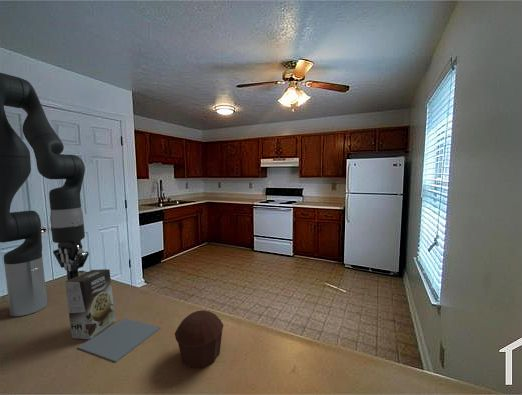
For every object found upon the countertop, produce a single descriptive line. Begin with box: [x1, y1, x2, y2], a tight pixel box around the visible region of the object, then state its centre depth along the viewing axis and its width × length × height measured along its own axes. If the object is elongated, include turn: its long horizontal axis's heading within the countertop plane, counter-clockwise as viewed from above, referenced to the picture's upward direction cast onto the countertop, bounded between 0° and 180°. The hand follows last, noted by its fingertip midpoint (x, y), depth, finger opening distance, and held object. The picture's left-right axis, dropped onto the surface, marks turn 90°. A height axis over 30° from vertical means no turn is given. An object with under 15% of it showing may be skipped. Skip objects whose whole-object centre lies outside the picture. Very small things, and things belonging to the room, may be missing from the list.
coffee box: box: [64, 268, 117, 340], centre depth 71 cm, size 9×6×16 cm
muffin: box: [174, 310, 224, 369], centre depth 60 cm, size 12×11×10 cm
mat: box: [77, 317, 161, 363], centre depth 68 cm, size 14×14×1 cm
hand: (73, 281), depth 74 cm, fingers closed
